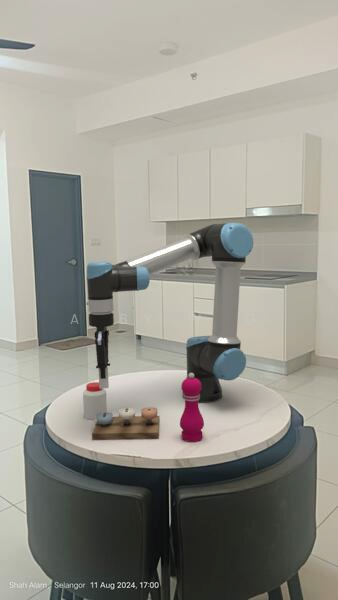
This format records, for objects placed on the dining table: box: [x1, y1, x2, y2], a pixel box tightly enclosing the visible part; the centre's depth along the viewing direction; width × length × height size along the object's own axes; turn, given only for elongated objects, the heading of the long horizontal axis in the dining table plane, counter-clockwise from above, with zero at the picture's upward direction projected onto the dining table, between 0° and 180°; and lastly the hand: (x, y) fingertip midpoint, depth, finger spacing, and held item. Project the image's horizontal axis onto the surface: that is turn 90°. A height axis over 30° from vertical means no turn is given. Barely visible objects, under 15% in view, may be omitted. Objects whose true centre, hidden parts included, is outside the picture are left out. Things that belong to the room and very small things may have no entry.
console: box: [91, 415, 160, 441], centre depth 152 cm, size 20×14×2 cm
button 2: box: [118, 407, 136, 424], centre depth 152 cm, size 5×5×4 cm
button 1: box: [140, 406, 158, 424], centre depth 152 cm, size 5×5×4 cm
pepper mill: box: [179, 373, 205, 443], centre depth 145 cm, size 7×7×20 cm
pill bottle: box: [82, 381, 108, 421], centre depth 165 cm, size 8×8×11 cm
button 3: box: [96, 411, 114, 426], centre depth 152 cm, size 5×5×4 cm
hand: (104, 387), depth 151 cm, fingers closed
